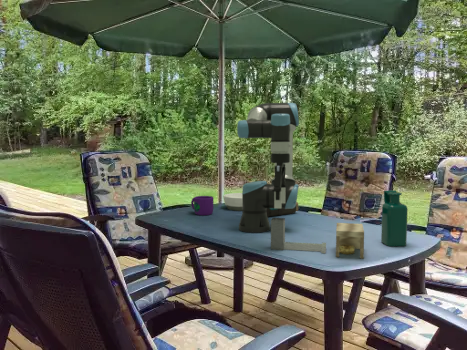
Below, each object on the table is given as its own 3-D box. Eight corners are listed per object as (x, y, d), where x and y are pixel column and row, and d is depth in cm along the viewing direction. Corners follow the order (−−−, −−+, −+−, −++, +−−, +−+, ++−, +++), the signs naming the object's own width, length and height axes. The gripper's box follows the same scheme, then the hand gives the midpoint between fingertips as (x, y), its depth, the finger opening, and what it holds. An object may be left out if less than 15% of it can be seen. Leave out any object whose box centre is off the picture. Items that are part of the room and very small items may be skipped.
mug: (217, 214, 252) (217, 197, 251) (202, 216, 244) (202, 199, 243) (199, 210, 264) (198, 194, 264) (183, 212, 257) (183, 196, 256)
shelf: (335, 256, 164) (336, 230, 163) (336, 246, 178) (336, 222, 177) (363, 258, 161) (364, 232, 160) (361, 248, 176) (362, 223, 175)
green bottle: (408, 246, 178) (409, 193, 176) (388, 246, 177) (389, 193, 175) (397, 240, 188) (398, 190, 186) (378, 241, 187) (379, 190, 185)
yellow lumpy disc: (339, 254, 167) (339, 248, 167) (338, 250, 173) (338, 244, 173) (355, 254, 166) (355, 248, 166) (353, 250, 172) (353, 244, 172)
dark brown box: (301, 219, 250) (257, 218, 235) (293, 220, 256) (250, 219, 240) (300, 200, 252) (257, 198, 237) (292, 201, 258) (250, 199, 242)
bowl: (247, 213, 255) (247, 199, 254) (216, 209, 268) (216, 196, 267) (266, 207, 274) (266, 194, 273) (236, 204, 286) (236, 191, 285)
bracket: (270, 250, 174) (270, 220, 172) (273, 245, 180) (273, 217, 179) (325, 253, 168) (325, 222, 167) (326, 248, 175) (326, 219, 174)
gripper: (286, 153, 160) (286, 210, 162) (292, 151, 185) (292, 201, 186) (266, 153, 162) (266, 210, 164) (275, 151, 186) (274, 201, 188)
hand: (280, 205), depth 175 cm, fingers open, 13 cm apart
